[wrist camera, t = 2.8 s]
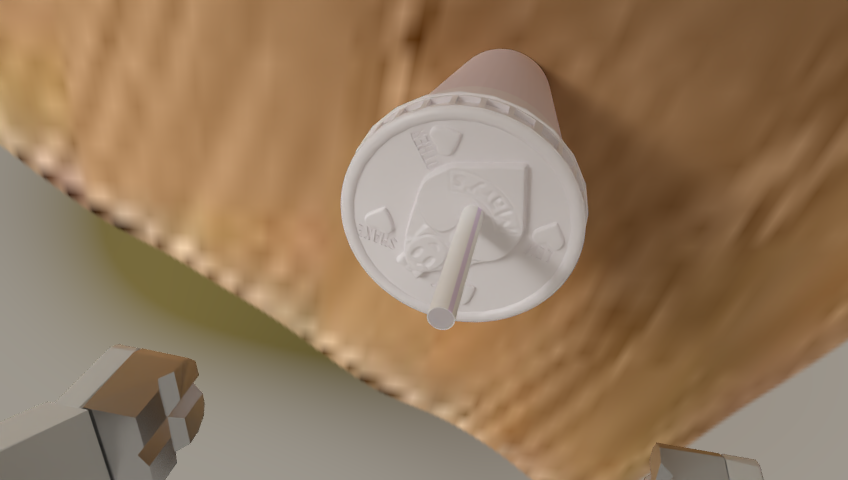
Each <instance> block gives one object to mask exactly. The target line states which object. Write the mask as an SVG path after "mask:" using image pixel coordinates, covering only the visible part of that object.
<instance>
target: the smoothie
mask: <svg viewBox="0 0 848 480" xmlns="http://www.w3.org/2000/svg"><path fill="white" fill-rule="evenodd" d="M341 215H342V222H343V227H344V231H345V234H346V237H347V240H348V242H349V245H350V247H351V249H352V251H353V253H354V255H355V257H356V258H357V260H358V261H359V263H360V264H361V266H362V267H363V269H364V270H365V271H366V272H367V274H368V275H369V276H370V277H371V278H372V279H373V280H374V281H375V282H376V283H377V284H378V285H379V286H380V287H381V288H382V289H383V290H385V291H386V292H387V293H389V294H390V295H391V296H393V297H394V298H396V299H397V300H399V301H400V302H402V303H404V304H406V305H407V306H409V307H411V308H413V309H416V310H418V311H420V312H423V313H425V314H427V320H428V322H429V324H430V325H431V326H433V327H434V328H436V329H440V330H446V329H449V328H451V327H452V326H453V325H454V322H455V321H461V322H487V321H496V320H500V319H505V318H509V317H512V316H516V315H518V314H521V313H523V312H526V311H528V310H530V309H532V308H534V307H536V306H537V305H539V304H541V303H542V302H544V301H545V300H546V299H548V298H549V297H550V296H552V295H553V294H554V293H555V292H556V291H557V290H558V289H559V288H560V287H561V286H562V285H563V284H564V282H565V281H566V280H567V279H568V277H569V276H570V274H571V273H572V271H573V270H574V268H575V266H576V264H577V262H578V259H579V257H580V254H581V251H582V248H583V244H584V239H585V231H586V223H587V218H588V202H587V190H586V183H585V181H584V178H583V176H582V173H581V171H580V168H579V166H578V163H577V161H576V158H575V156H574V154H573V153H572V152H571V150H570V149H569V148H568V146H567V145H566V144H565V143H564V141H563V140H562V136H561V132H560V128H559V124H558V120H557V115H556V111H555V107H554V103H553V99H552V94H551V90H550V86H549V83H548V80H547V78H546V75H545V74H544V72H543V71H542V69H541V68H540V67H539V65H538V64H537V63H536V62H534V61H533V60H532V59H531V58H529V57H528V56H526V55H524V54H522V53H520V52H517V51H514V50H509V49H493V50H488V51H485V52H482V53H480V54H478V55H476V56H474V57H473V58H471V59H470V60H469V61H468V62H466V63H465V64H464V65H463V66H462V67H460V68H459V69H458V70H457V71H456V72H455V73H453V74H452V75H451V76H450V77H449V78H447V79H446V80H445V81H444V82H443V83H441V84H440V85H439V86H438V87H437V88H436V89H434V90H433V91H432V92H431V93H430V94H428V95H424V96H422V97H420V98H417V99H415V100H412V101H410V102H408V103H405V104H403V105H400V106H398V107H396V108H395V109H393V110H392V111H391V112H390V113H388V114H387V115H386V116H385V117H383V118H382V119H381V120H380V121H379V122H377V123H376V124H375V125H374V126H372V128H371V129H370V131H369V132H368V134H367V135H366V137H365V138H364V140H363V141H362V143H361V144H360V145H359V147H358V148H357V150H356V153H355V156H354V157H353V159H352V161H351V163H350V165H349V167H348V169H347V172H346V175H345V178H344V182H343V186H342V193H341Z"/></svg>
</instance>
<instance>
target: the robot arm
mask: <svg viewBox="0 0 848 480" xmlns="http://www.w3.org/2000/svg"><path fill="white" fill-rule="evenodd" d="M198 376H199V373H198V369H197V365H196V362H195V361H194V360H192V359H189V358H185V357H180V356H176V355H171V354H166V353H161V352H156V351H152V350H147V349H140V348H135V347H130V346H125V345H121V344H118V345H115V346H112V347H110V348H109V349H108V350H107V351H106V352H105V353H104V354H103V355H102V356H101V357H100V358H99V359H98V360H97V361H96V362H95V363H94V364H93V365H92V366H91V367H90V368H89V369H88V370H87V371H86V372H85V373H84V374H83V375H82V376H81V377H80V378H79V379H78V380H77V381H76V382H75V383H74V384H73V385H72V386H71V387H70V388H69V389H68V390H67V391H66V392H65V393H64V394H63V395H62V396H61V397H60V398H59V399H58V400H57V401H56V402H55V403H51V402H45V403H42V404H40V405H38V406H36V407H33V408H31V409H29V410H26V411H24V412H22V413H19V414H17V415H15V416H13V417H10V418H8V419H6V420H3V421H1V422H0V480H165V479H166V478H167V476H168V475H169V473H170V472H171V471H172V469H173V468H174V466H175V465H176V463H177V459H176V451H178V450H180V449H181V448H183V447H185V446H187V445H189V444H190V443H191V442H192V440H193V439H194V437H195V436H196V434H197V433H198V431H199V428H200V425H201V422H202V419H203V416H204V398H203V393H202V392H201V391H200V390H199V389H198V388H197V386H196V385H195V384H194V383H193V382H194V381H195V380H196V378H197V377H198ZM650 470H651V474H650V475H648V476H647V477H645V478H644V480H763V476H762V472H761V468H760V465H759V464H758V462H757V461H756V460H754V459H749V458H742V457H737V456H731V455H725V454H721V455H720V454H718V453H713V452H707V451H702V450H696V449H690V448H684V447H678V446H673V445H667V444H661V443H656V444H655V446H654V447H653V450H652V453H651V457H650Z"/></svg>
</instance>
